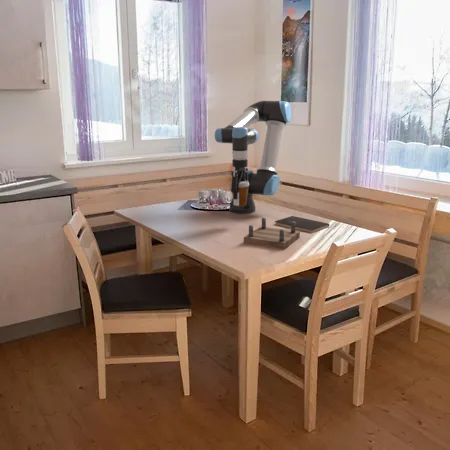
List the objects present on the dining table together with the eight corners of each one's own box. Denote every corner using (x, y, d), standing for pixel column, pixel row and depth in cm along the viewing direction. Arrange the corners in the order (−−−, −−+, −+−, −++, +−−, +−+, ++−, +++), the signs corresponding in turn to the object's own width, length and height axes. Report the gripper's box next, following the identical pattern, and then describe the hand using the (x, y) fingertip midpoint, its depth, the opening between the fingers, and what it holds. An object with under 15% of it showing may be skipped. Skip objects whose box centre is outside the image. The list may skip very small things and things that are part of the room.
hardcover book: (311, 234, 243) (311, 229, 243) (274, 225, 259) (274, 221, 258) (329, 227, 255) (329, 223, 254) (292, 219, 270) (293, 215, 269)
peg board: (260, 232, 245) (261, 216, 243) (299, 237, 236) (300, 221, 234) (243, 243, 228) (243, 226, 226) (284, 249, 219) (285, 232, 217)
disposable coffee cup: (247, 207, 247) (247, 183, 244) (229, 206, 249) (228, 183, 246) (250, 202, 256) (250, 180, 253) (232, 202, 258) (232, 179, 255)
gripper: (242, 155, 256) (242, 198, 263) (223, 161, 239) (224, 207, 245) (255, 156, 253) (255, 199, 260) (237, 162, 235) (237, 208, 242)
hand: (240, 203), depth 252 cm, fingers closed on disposable coffee cup, 8 cm apart
